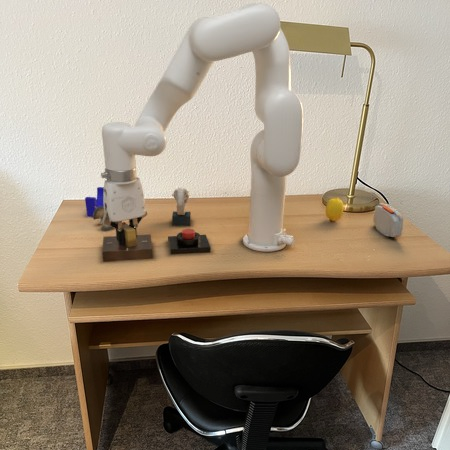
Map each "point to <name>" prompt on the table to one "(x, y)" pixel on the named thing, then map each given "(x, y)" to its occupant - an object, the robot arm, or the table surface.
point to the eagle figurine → (101, 217)
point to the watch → (181, 208)
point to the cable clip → (94, 202)
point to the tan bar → (129, 235)
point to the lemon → (334, 209)
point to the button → (188, 233)
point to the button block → (188, 244)
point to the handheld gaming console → (388, 220)
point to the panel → (127, 249)
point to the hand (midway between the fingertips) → (127, 241)
